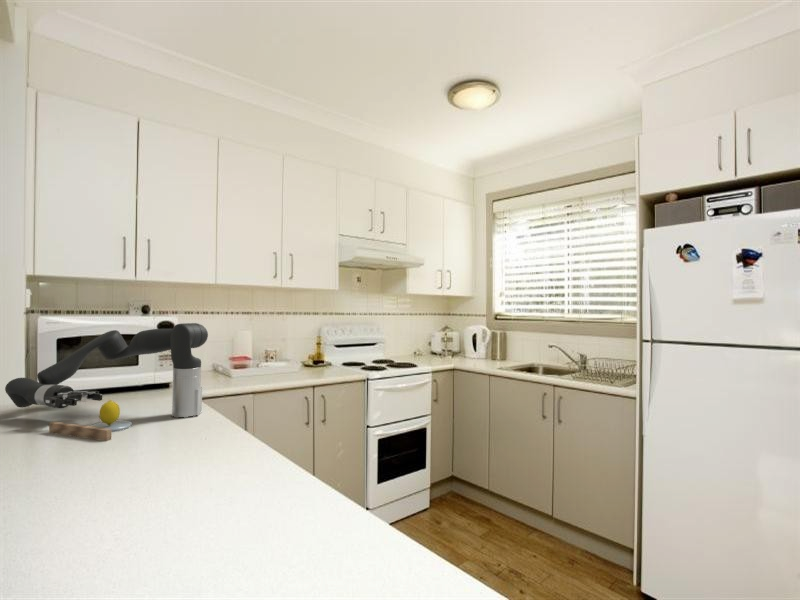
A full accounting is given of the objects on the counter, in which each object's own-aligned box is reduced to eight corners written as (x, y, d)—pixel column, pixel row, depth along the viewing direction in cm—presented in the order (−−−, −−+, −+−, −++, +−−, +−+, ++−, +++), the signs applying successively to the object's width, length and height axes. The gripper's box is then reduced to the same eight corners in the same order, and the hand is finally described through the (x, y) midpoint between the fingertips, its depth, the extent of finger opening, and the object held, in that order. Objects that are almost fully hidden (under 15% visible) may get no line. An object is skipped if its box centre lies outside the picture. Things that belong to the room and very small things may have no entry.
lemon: (109, 428, 140) (110, 402, 140) (94, 426, 141) (95, 401, 141) (123, 423, 146) (124, 399, 146) (109, 422, 147) (109, 398, 147)
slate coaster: (137, 422, 150) (137, 420, 150) (122, 432, 139) (122, 429, 139) (97, 423, 148) (97, 421, 148) (79, 433, 136) (79, 431, 136)
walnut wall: (49, 432, 137) (49, 422, 137) (54, 431, 139) (54, 421, 139) (106, 440, 130) (106, 430, 130) (111, 439, 131) (111, 429, 131)
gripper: (31, 388, 145) (67, 392, 140) (76, 381, 159) (109, 384, 153) (31, 411, 145) (66, 416, 140) (75, 402, 158) (108, 406, 153)
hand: (88, 399), depth 147 cm, fingers open, 8 cm apart
